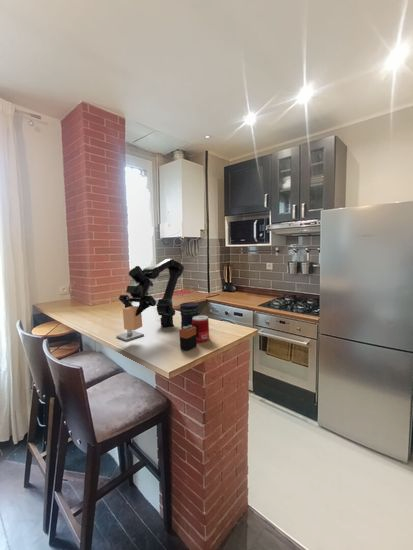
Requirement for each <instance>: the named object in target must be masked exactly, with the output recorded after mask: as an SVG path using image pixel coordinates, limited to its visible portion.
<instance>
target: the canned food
mask: <svg viewBox="0 0 413 550" xmlns="http://www.w3.org/2000/svg"><path fill="white" fill-rule="evenodd" d="M209 323H210V322H209V316H207V315H203V314H201V315H199V316H194V317H193V318H192V325H193V326H194V327H196V340H197V343H205V342H208V341H209V339H210V326H209V325H210V324H209Z"/></svg>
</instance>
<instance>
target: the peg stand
mask: <svg viewBox="0 0 413 550" xmlns="http://www.w3.org/2000/svg"><path fill="white" fill-rule="evenodd" d="M144 336H145V334H144V333H141V332H138V331H137V330H126V332H124V333H120V334H118V335H116V336H115V337H117V339H119V338H120V339H119V340H121V339H122V341H124V340H125V341H124V342H126V341H127V342H129V340H130V341H133V340H135V339H140V338H141V337H142V338H143V337H144ZM132 339H133V340H132Z"/></svg>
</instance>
